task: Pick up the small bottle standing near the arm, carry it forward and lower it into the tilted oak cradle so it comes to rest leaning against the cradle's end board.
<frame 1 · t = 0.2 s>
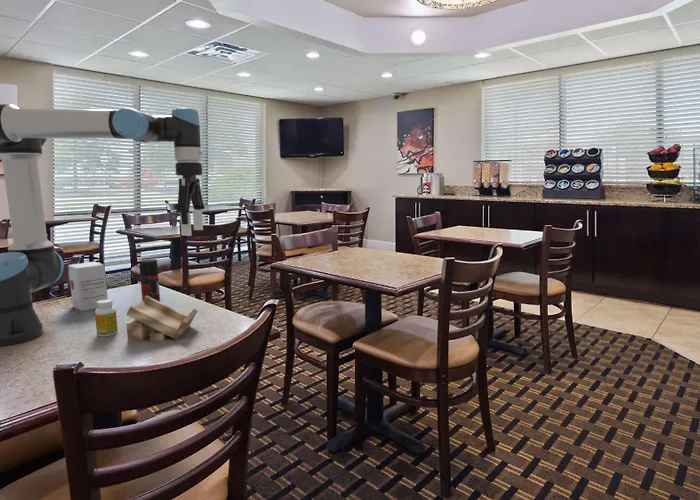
hand: (192, 232, 144), 27 cm above the table, tool pointing down, fingers open, 13 cm apart
supplement bottle: (107, 334, 135), on the table
cradle: (159, 333, 135), on the table
supplement box: (90, 307, 164), on the table
deodorant: (151, 301, 169), on the table
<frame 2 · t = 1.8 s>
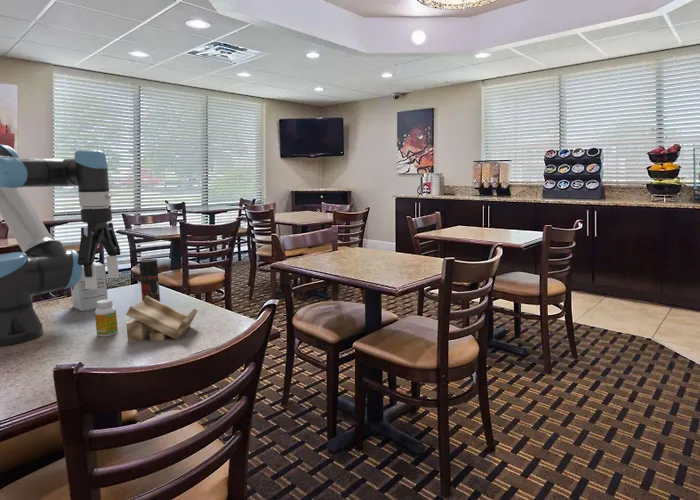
hand: (103, 282, 133), 15 cm above the table, tool pointing down, fingers open, 13 cm apart
nothing on the table moved.
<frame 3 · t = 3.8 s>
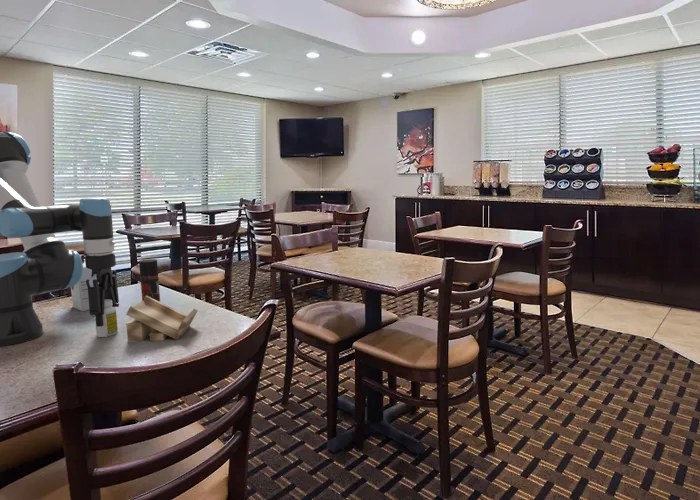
hand: (107, 332, 135), 0 cm above the table, tool pointing down, fingers closed on supplement bottle, 5 cm apart
supplement bottle: (107, 334, 135), on the table, touching gripper
everything else where it was.
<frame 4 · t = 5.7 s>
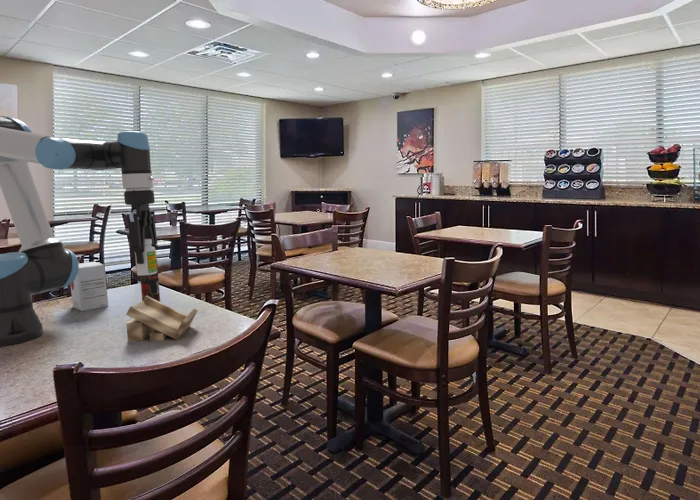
hand: (147, 272, 132), 18 cm above the table, tool pointing down, fingers closed on supplement bottle, 5 cm apart
supplement bottle: (147, 274, 132), point 17 cm above the table, touching gripper
everything else where it was.
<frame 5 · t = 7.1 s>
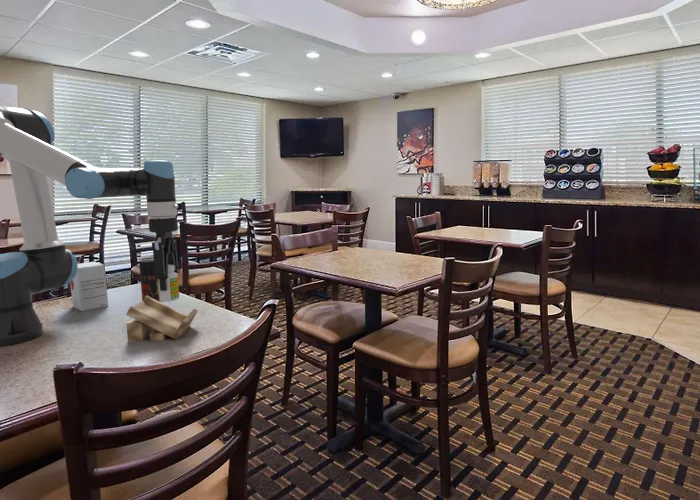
hand: (169, 298, 133), 10 cm above the table, tool pointing down, fingers closed on supplement bottle, 5 cm apart
supplement bottle: (169, 300, 133), point 10 cm above the table, touching gripper
everything else where it was.
when the fingers open (6 cm above the table, at t = 8.0 s): supplement bottle drops 1 cm, resting on cradle.
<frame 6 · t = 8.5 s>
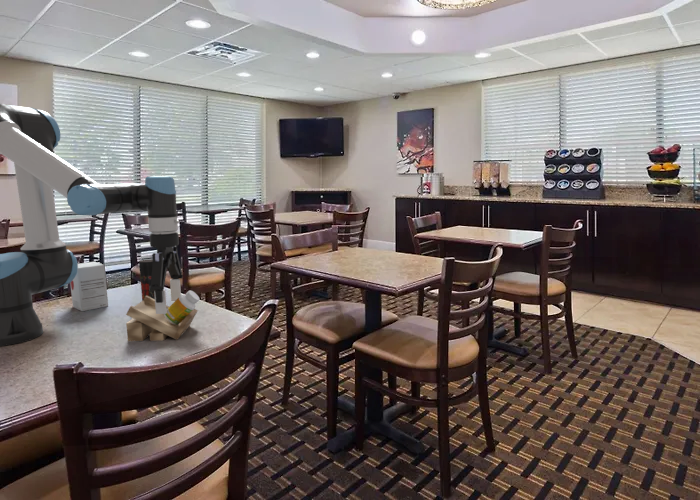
hand: (169, 306, 134), 8 cm above the table, tool pointing down, fingers open, 12 cm apart
supplement bottle: (170, 319, 134), point 4 cm above the table, touching cradle
everything else where it was.
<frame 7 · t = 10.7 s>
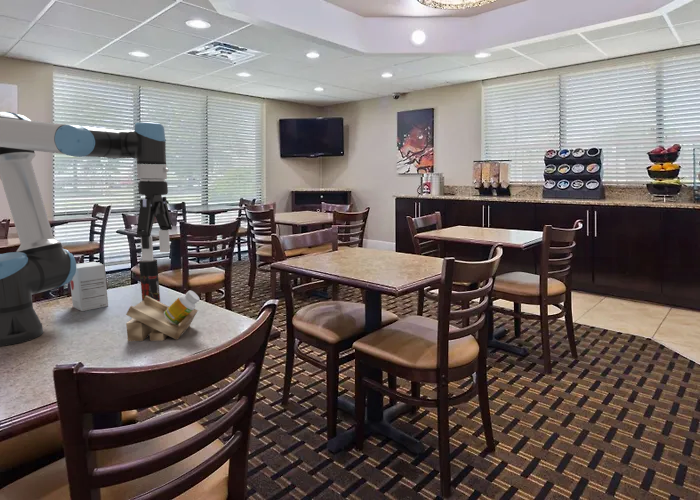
hand: (156, 256, 133), 22 cm above the table, tool pointing down, fingers open, 13 cm apart
nothing on the table moved.
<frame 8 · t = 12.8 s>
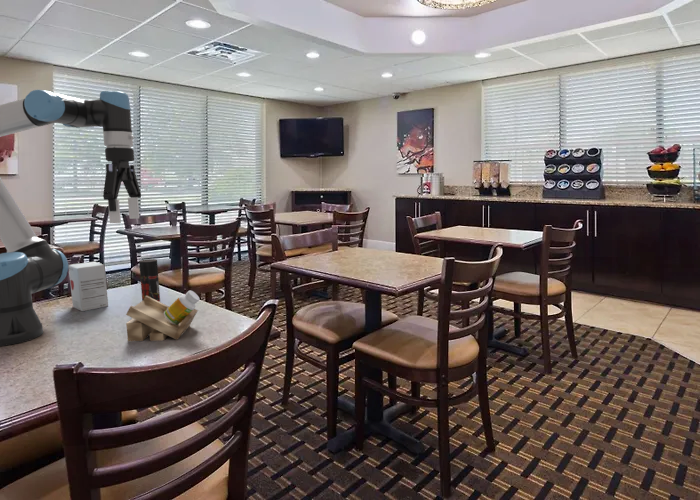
hand: (125, 220, 139), 32 cm above the table, tool pointing down, fingers open, 13 cm apart
nothing on the table moved.
at the end: supplement bottle inside the target area on the cradle (0.5 cm from its centre), point 4.1 cm above the cradle's base; supplement bottle tilted 46°; the gripper is holding nothing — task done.
